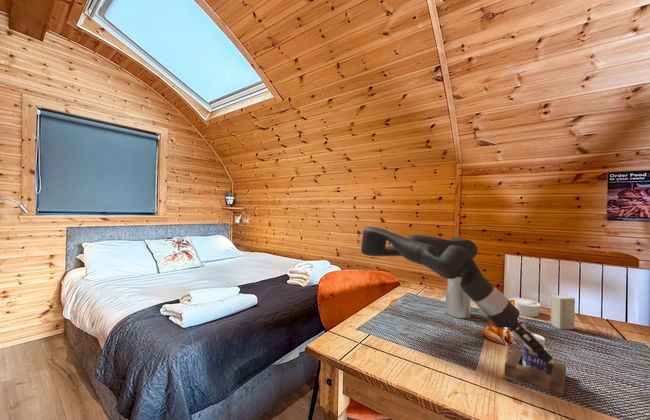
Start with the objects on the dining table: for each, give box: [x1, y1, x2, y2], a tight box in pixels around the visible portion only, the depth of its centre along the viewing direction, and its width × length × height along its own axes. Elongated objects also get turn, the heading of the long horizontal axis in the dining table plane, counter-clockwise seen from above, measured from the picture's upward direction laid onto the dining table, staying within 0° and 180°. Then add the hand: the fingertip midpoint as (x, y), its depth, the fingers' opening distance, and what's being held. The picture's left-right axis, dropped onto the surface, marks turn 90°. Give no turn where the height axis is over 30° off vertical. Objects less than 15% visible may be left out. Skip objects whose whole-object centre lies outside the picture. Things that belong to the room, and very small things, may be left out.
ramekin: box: [509, 297, 542, 318], centre depth 121 cm, size 11×11×5 cm
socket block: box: [504, 348, 567, 397], centre depth 74 cm, size 12×12×3 cm
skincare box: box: [550, 294, 576, 330], centre depth 106 cm, size 6×4×12 cm
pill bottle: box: [522, 332, 549, 374], centre depth 74 cm, size 5×5×9 cm
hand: (542, 354), depth 73 cm, fingers closed on pill bottle, 5 cm apart
